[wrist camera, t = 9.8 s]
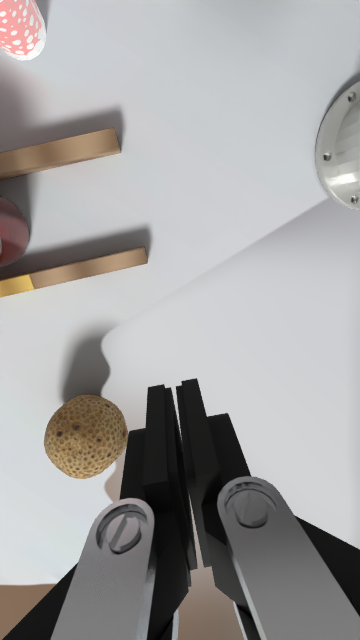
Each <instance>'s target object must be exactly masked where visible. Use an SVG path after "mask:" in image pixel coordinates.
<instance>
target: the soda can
mask: <svg viewBox="0 0 360 640" xmlns="http://www.w3.org/2000/svg"><path fill="white" fill-rule="evenodd" d="M28 242H29V230H28V226H27V223H26V220H25V218H24V216H23V215H22V213H21V212H20V210H19V209H18V208H17V207H16V206H15V205H14V204H13V203H12V202H10V201H9V200H7V199H5V198H4V197H2V196H0V267H3V266H7V265H10V264H12V263H14V262H16V261H17V260H18V259H19V258H21V256H22V255H23V254H24V253H25V251H26V249H27V246H28Z"/></svg>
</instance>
